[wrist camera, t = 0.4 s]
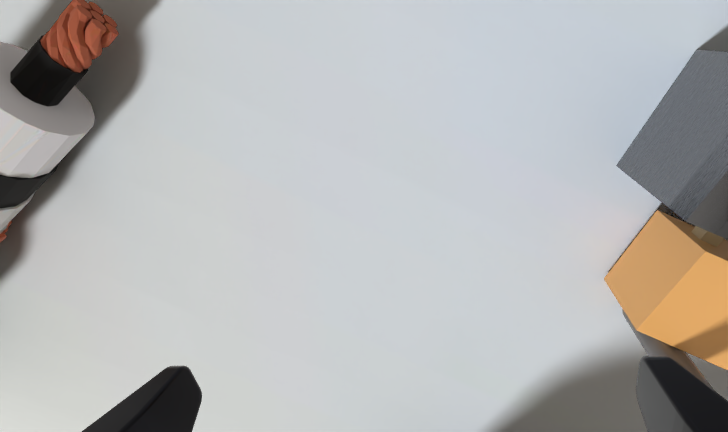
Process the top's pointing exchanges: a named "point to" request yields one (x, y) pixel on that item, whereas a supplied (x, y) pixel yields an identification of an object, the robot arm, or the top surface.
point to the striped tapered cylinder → (46, 102)
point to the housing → (688, 145)
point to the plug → (676, 291)
